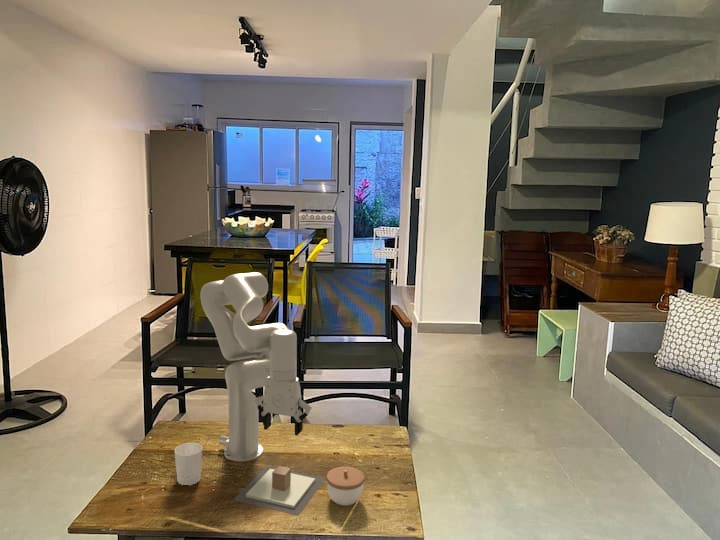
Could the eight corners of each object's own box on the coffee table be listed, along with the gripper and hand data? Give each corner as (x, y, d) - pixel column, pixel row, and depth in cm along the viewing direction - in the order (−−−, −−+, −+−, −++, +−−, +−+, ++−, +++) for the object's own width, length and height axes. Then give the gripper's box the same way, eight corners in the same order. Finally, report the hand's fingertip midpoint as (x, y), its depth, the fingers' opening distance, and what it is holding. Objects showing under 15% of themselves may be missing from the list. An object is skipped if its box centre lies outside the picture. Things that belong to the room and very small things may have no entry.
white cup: (208, 477, 171) (207, 446, 170) (190, 489, 164) (189, 458, 162) (188, 470, 175) (187, 440, 173) (169, 482, 167) (168, 451, 166)
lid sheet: (245, 496, 161) (245, 478, 160) (270, 471, 175) (270, 453, 174) (293, 508, 156) (294, 489, 155) (315, 480, 170) (315, 463, 169)
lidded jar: (359, 514, 155) (360, 483, 154) (321, 508, 158) (322, 477, 156) (366, 493, 166) (367, 463, 164) (331, 488, 168) (332, 458, 166)
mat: (233, 501, 159) (233, 499, 159) (266, 467, 178) (266, 465, 178) (298, 517, 153) (298, 515, 153) (325, 480, 172) (325, 478, 172)
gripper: (249, 373, 158) (249, 431, 161) (305, 382, 153) (305, 441, 156) (261, 365, 165) (261, 420, 168) (316, 373, 160) (315, 430, 163)
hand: (282, 430), depth 162 cm, fingers open, 9 cm apart
